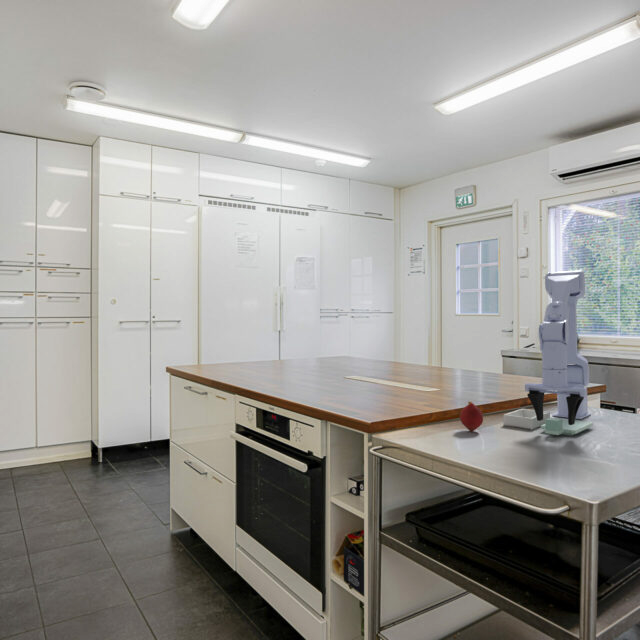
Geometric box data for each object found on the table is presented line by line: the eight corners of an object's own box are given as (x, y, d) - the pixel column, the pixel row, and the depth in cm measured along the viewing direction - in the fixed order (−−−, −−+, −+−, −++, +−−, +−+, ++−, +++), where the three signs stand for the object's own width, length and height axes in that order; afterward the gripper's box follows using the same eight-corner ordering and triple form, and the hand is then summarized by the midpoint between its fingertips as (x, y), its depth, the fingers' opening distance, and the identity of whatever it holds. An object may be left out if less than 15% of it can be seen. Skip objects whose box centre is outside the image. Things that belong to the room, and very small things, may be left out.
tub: (522, 418, 145) (522, 408, 145) (550, 422, 139) (550, 412, 139) (503, 425, 136) (503, 414, 136) (532, 429, 131) (531, 418, 131)
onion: (480, 428, 133) (479, 399, 133) (485, 433, 127) (484, 403, 127) (458, 428, 133) (458, 399, 133) (462, 433, 128) (462, 403, 128)
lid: (559, 424, 137) (559, 408, 137) (593, 429, 130) (592, 412, 130) (533, 435, 125) (533, 418, 125) (569, 440, 119) (569, 422, 119)
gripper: (519, 368, 126) (520, 420, 126) (579, 371, 116) (580, 429, 116) (530, 366, 131) (531, 416, 131) (589, 369, 121) (590, 424, 121)
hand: (555, 422), depth 124 cm, fingers open, 7 cm apart
